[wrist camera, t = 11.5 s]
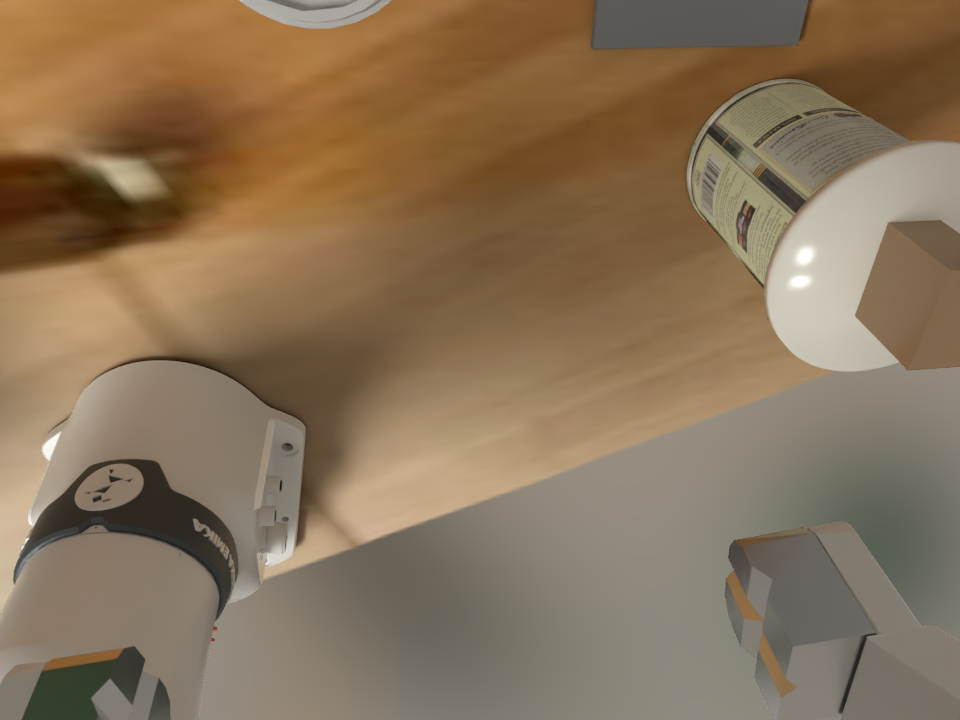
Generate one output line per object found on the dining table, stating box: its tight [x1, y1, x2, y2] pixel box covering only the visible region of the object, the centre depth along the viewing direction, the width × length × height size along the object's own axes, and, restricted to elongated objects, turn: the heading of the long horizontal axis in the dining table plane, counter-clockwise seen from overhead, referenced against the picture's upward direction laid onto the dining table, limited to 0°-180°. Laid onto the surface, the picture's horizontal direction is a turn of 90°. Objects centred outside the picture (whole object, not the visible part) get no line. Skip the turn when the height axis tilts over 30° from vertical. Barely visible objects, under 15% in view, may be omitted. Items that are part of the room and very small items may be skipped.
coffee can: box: [687, 79, 911, 289], centre depth 41 cm, size 10×10×14 cm
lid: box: [764, 139, 960, 371], centre depth 33 cm, size 12×12×5 cm
